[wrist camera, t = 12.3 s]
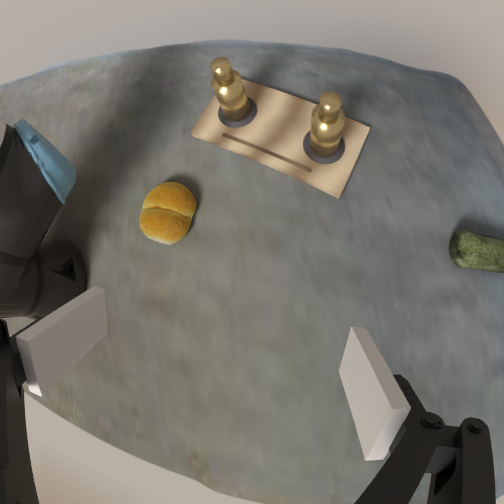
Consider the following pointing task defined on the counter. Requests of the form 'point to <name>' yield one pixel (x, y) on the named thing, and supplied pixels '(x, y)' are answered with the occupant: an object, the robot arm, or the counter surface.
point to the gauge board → (283, 137)
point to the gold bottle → (229, 90)
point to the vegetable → (477, 252)
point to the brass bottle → (326, 125)
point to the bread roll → (167, 213)
